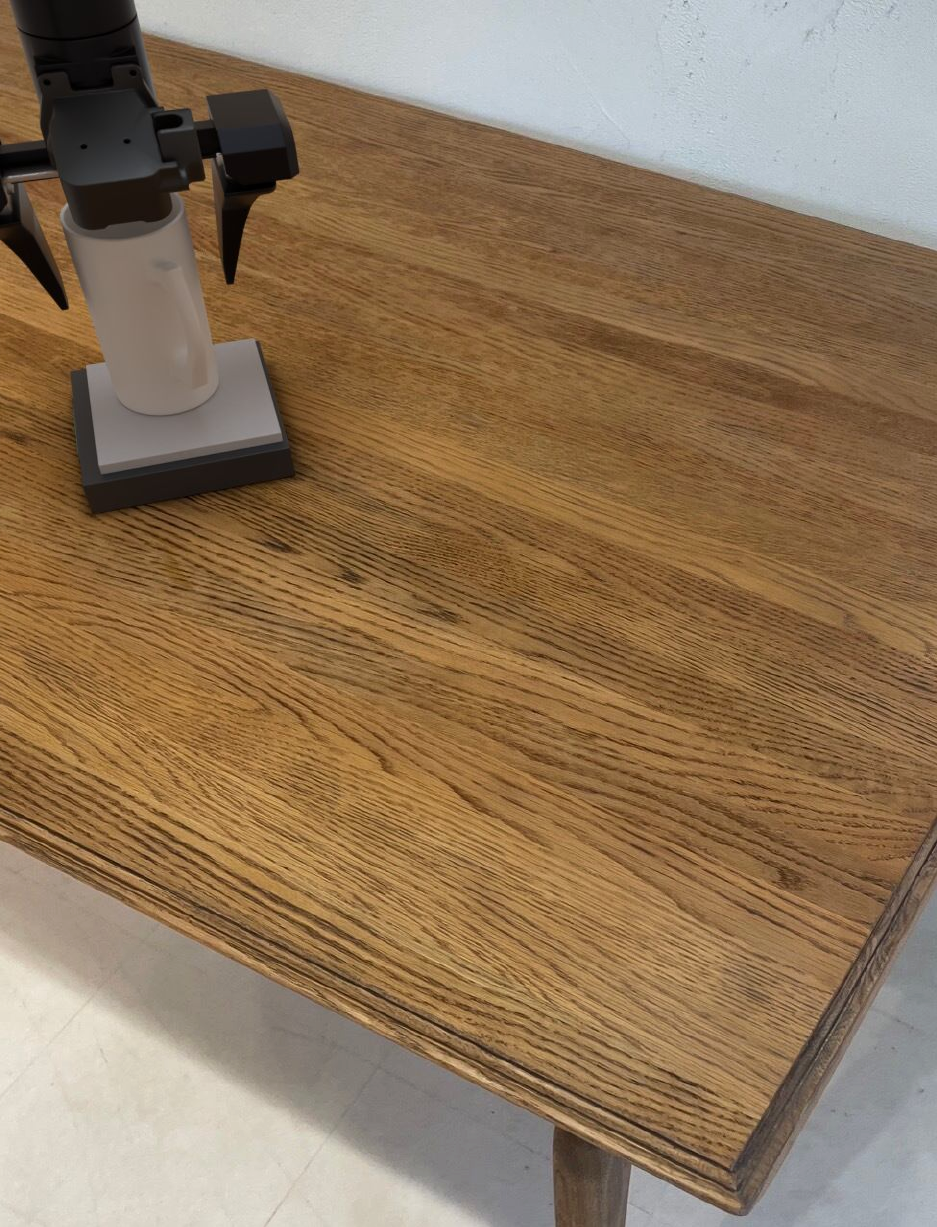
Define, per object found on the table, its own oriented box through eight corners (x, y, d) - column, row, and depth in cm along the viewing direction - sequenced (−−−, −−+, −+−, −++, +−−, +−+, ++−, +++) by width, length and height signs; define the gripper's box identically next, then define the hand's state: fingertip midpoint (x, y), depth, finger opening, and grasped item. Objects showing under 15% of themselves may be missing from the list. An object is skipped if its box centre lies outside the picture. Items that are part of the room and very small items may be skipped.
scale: (89, 515, 77) (76, 477, 75) (76, 399, 85) (64, 362, 83) (295, 475, 80) (288, 438, 78) (264, 367, 88) (257, 331, 86)
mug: (93, 381, 81) (38, 204, 73) (191, 343, 84) (150, 169, 76) (169, 460, 76) (120, 280, 67) (270, 417, 79) (236, 239, 71)
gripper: (-136, 110, 56) (-21, 402, 67) (295, 62, 61) (336, 342, 72) (-127, 13, 64) (-24, 291, 75) (258, -24, 68) (300, 243, 79)
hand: (148, 293), depth 75 cm, fingers open, 9 cm apart
